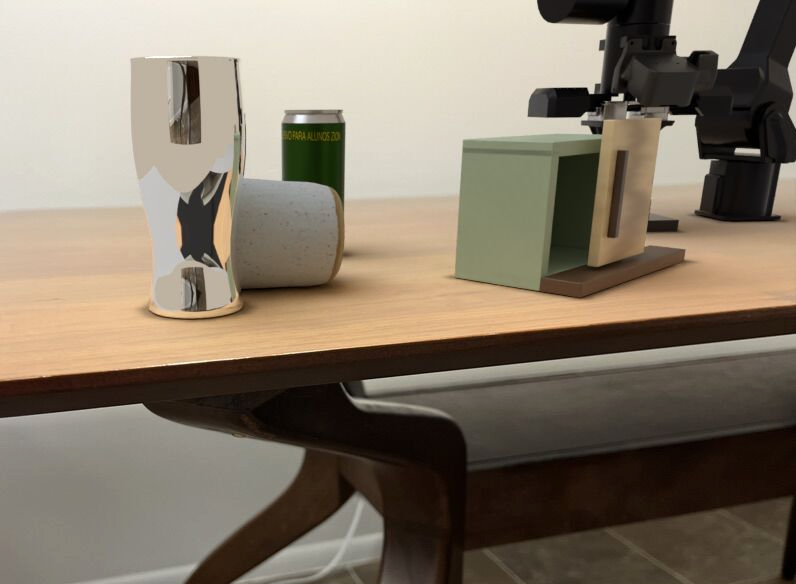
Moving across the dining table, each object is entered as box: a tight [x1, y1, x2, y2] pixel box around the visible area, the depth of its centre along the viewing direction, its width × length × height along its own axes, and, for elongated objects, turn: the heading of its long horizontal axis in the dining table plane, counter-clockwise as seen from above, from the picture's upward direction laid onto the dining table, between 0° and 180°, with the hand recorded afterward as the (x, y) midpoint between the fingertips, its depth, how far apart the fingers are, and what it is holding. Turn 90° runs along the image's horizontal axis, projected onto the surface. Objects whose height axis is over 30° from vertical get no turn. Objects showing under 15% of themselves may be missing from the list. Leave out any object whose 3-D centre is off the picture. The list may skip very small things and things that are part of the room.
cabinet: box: [454, 133, 687, 299], centre depth 62 cm, size 18×10×10 cm, turn 135°
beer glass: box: [128, 55, 247, 319], centre depth 50 cm, size 7×7×15 cm
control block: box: [646, 201, 680, 233], centre depth 84 cm, size 10×7×3 cm
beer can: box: [280, 109, 347, 213], centre depth 69 cm, size 5×5×12 cm
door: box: [587, 118, 662, 267], centre depth 59 cm, size 8×1×10 cm, turn 135°
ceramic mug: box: [235, 177, 346, 290], centre depth 59 cm, size 11×8×8 cm
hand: (618, 191), depth 84 cm, fingers closed, pressing on button
